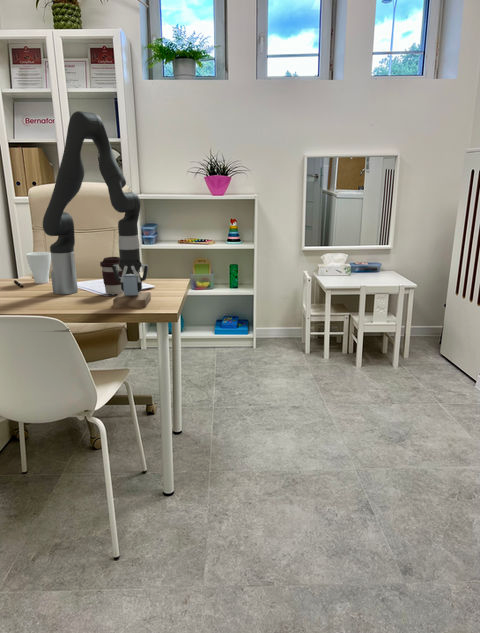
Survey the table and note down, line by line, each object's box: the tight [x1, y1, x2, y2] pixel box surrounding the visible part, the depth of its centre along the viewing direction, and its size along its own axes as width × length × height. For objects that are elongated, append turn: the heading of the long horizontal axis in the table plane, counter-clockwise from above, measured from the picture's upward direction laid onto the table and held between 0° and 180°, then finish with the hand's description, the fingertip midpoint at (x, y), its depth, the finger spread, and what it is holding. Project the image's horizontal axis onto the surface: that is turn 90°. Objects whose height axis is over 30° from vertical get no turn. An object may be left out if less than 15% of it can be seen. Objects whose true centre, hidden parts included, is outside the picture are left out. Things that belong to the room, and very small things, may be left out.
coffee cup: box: [99, 256, 123, 295], centre depth 200 cm, size 10×10×15 cm
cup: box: [25, 251, 52, 285], centre depth 221 cm, size 10×10×14 cm
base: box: [112, 291, 152, 309], centre depth 186 cm, size 12×12×3 cm
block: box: [123, 274, 139, 295], centre depth 184 cm, size 5×5×7 cm
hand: (132, 291), depth 185 cm, fingers closed on block, 5 cm apart
